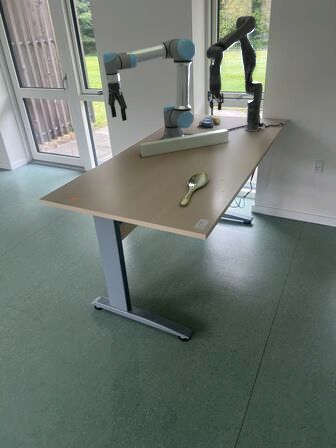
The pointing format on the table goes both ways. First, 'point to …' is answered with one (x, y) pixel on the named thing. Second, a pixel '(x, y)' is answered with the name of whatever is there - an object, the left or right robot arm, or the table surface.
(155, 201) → the table surface
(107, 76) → the left robot arm
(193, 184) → the spoon
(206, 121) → the spray gun
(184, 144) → the beam
